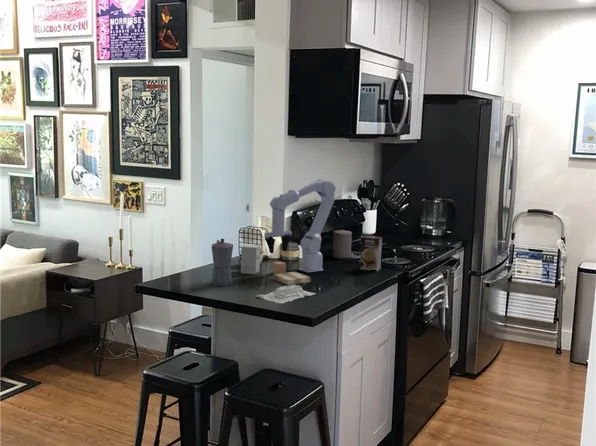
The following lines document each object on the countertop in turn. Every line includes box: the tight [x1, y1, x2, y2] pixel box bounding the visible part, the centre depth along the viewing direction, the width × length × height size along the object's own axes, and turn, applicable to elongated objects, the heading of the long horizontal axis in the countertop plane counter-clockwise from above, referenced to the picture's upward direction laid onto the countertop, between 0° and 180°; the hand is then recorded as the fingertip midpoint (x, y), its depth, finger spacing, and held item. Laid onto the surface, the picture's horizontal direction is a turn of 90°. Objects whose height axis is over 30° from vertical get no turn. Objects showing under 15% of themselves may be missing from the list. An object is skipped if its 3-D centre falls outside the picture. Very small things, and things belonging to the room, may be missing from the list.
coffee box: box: [359, 235, 383, 272], centre depth 303 cm, size 9×6×16 cm
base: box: [272, 271, 311, 286], centre depth 277 cm, size 12×12×2 cm
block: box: [272, 261, 287, 274], centre depth 290 cm, size 4×4×5 cm
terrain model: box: [255, 284, 317, 304], centre depth 251 cm, size 17×23×5 cm
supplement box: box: [240, 244, 261, 275], centre depth 290 cm, size 7×7×13 cm
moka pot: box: [210, 238, 234, 287], centre depth 267 cm, size 10×15×20 cm, turn 27°
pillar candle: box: [332, 228, 353, 260], centre depth 331 cm, size 10×10×15 cm
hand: (277, 251), depth 288 cm, fingers open, 7 cm apart
